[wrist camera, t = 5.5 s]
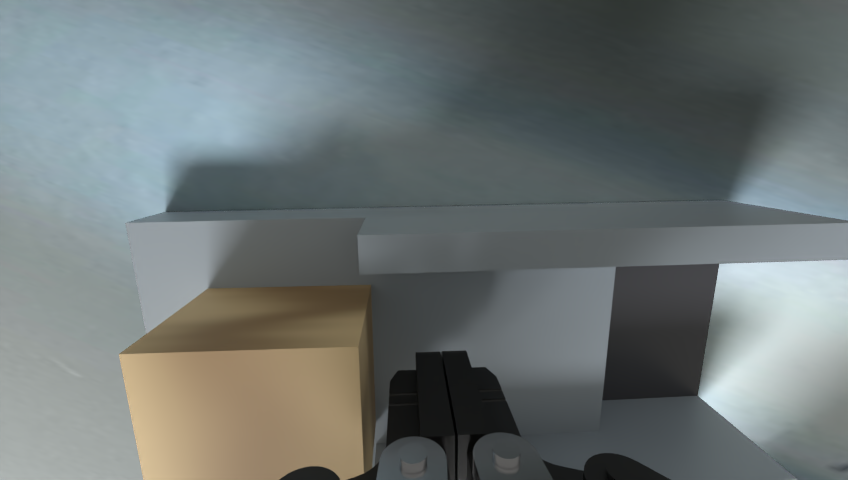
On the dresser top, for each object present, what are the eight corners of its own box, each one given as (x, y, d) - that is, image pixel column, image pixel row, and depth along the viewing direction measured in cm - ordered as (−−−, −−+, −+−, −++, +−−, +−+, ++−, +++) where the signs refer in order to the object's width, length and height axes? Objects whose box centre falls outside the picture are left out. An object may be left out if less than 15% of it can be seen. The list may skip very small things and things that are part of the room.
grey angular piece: (723, 200, 15) (859, 222, 10) (688, 412, 17) (790, 505, 12) (164, 212, 14) (53, 243, 9) (201, 437, 16) (124, 551, 11)
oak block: (371, 284, 13) (358, 346, 9) (375, 422, 14) (366, 531, 10) (207, 288, 12) (118, 354, 8) (227, 428, 13) (156, 543, 10)
